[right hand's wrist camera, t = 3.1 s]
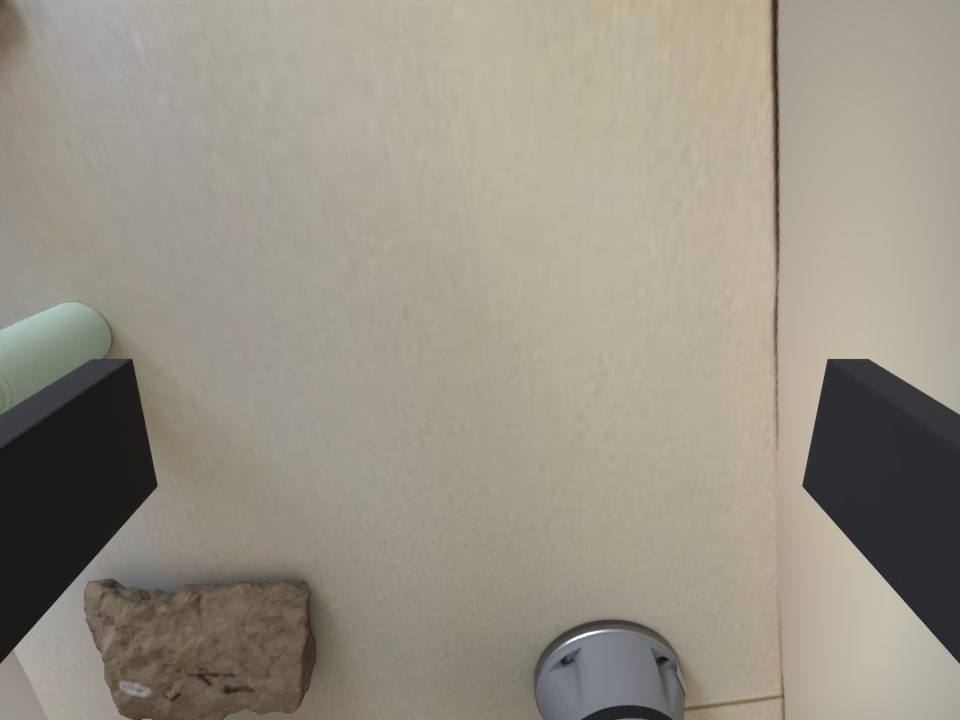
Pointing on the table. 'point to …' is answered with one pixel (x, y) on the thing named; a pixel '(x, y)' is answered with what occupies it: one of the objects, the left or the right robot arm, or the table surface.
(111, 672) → the stone
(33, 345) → the bottle
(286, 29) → the table surface
